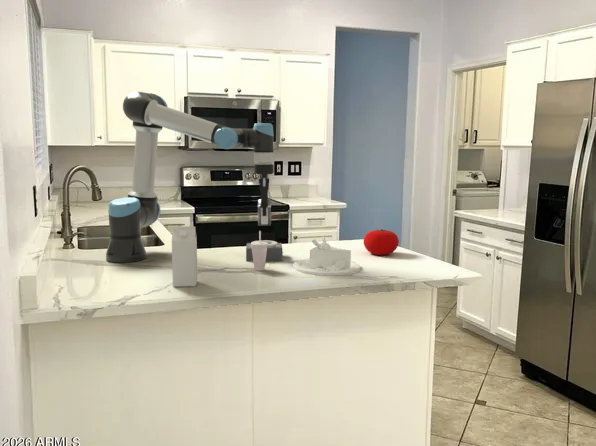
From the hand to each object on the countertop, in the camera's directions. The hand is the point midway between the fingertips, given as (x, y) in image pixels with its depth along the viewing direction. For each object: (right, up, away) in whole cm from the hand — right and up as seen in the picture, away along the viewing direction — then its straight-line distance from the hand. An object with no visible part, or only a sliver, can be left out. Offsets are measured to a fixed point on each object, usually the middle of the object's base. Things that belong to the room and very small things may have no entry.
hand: (264, 222), depth 219 cm
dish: (+24, -17, -13) cm, 32 cm away
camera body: (0, -14, +2) cm, 14 cm away
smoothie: (-1, -17, -17) cm, 24 cm away
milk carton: (-23, -20, -38) cm, 49 cm away
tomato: (+47, -13, +12) cm, 51 cm away
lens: (0, -1, 0) cm, 1 cm away
